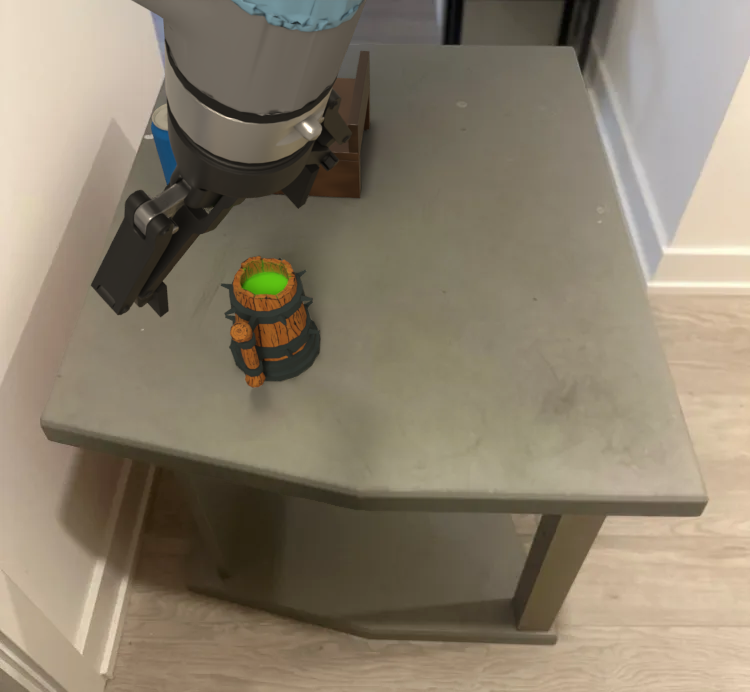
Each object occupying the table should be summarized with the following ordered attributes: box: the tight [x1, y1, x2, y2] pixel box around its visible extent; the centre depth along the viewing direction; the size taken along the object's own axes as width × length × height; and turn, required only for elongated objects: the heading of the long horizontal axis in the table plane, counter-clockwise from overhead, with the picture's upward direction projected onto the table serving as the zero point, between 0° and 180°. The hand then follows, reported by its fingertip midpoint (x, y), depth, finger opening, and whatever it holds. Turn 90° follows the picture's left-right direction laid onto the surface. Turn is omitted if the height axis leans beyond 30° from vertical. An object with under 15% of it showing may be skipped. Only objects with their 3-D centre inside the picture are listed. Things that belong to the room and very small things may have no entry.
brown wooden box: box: [272, 50, 371, 199], centre depth 96 cm, size 16×16×11 cm
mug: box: [220, 255, 321, 389], centre depth 74 cm, size 13×10×12 cm
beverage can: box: [150, 103, 177, 186], centre depth 90 cm, size 6×6×12 cm
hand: (223, 245), depth 56 cm, fingers open, 13 cm apart
